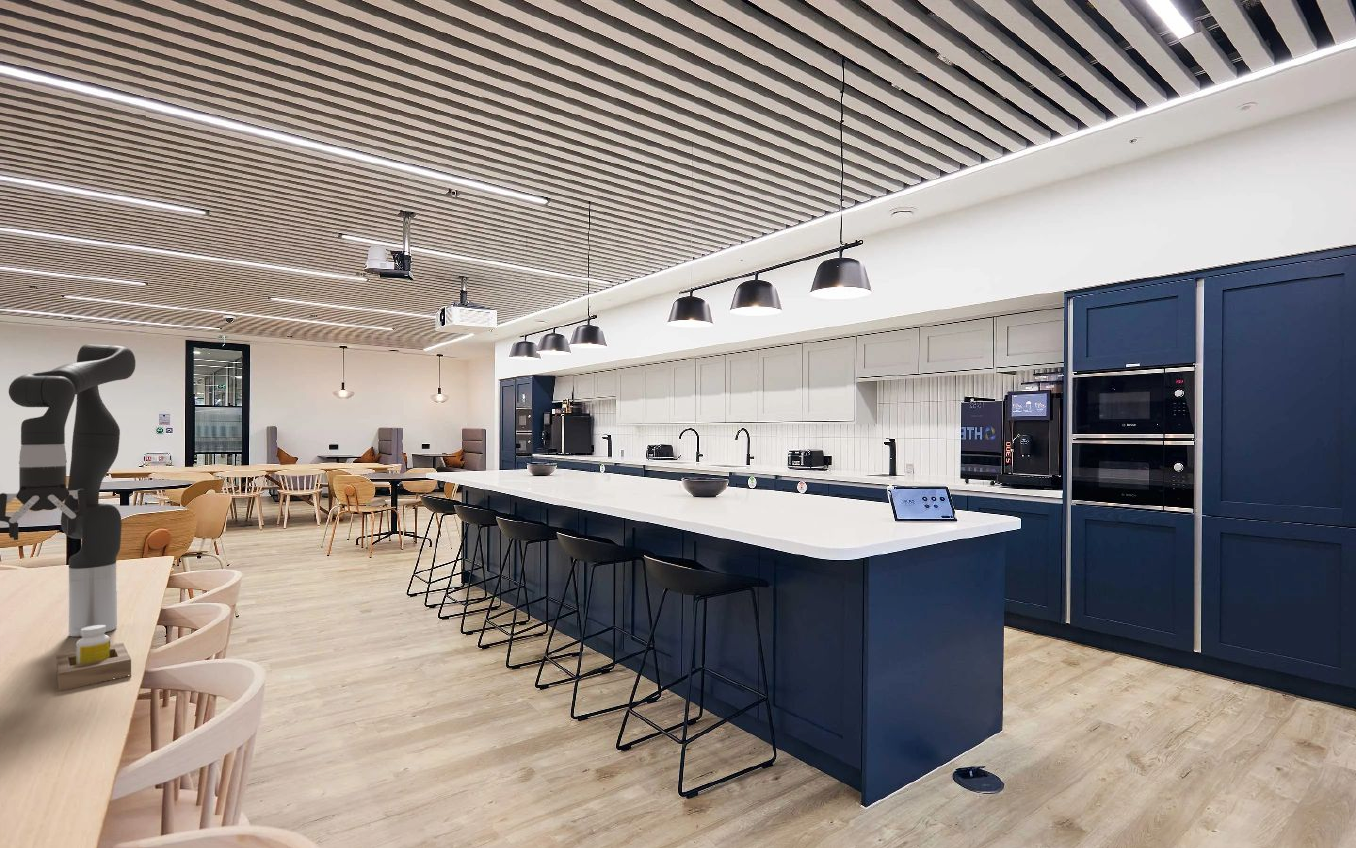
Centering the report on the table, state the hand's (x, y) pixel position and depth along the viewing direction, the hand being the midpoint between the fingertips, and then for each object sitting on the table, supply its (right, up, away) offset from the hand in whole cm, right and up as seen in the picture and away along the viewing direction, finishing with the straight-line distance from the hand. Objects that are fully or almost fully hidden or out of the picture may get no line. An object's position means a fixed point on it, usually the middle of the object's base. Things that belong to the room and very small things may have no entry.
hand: (43, 537), depth 145 cm
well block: (+17, -28, -7) cm, 33 cm away
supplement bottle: (+17, -28, -7) cm, 34 cm away
